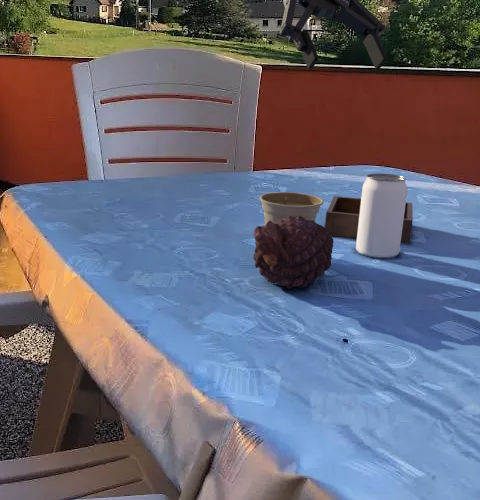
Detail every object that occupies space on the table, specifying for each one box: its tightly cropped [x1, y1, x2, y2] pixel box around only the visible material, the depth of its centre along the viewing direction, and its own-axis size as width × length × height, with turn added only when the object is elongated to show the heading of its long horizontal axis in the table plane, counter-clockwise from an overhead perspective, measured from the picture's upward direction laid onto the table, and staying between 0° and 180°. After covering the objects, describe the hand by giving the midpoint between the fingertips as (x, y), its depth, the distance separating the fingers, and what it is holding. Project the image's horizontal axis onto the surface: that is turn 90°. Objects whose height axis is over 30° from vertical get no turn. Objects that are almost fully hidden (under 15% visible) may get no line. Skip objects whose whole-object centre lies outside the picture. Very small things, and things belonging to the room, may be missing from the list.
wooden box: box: [324, 195, 414, 245], centre depth 123 cm, size 14×14×4 cm
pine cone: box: [253, 216, 334, 290], centre depth 95 cm, size 18×10×10 cm
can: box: [355, 172, 408, 259], centre depth 109 cm, size 6×6×12 cm
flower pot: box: [259, 191, 324, 225], centre depth 108 cm, size 9×9×9 cm
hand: (348, 64), depth 122 cm, fingers open, 13 cm apart
